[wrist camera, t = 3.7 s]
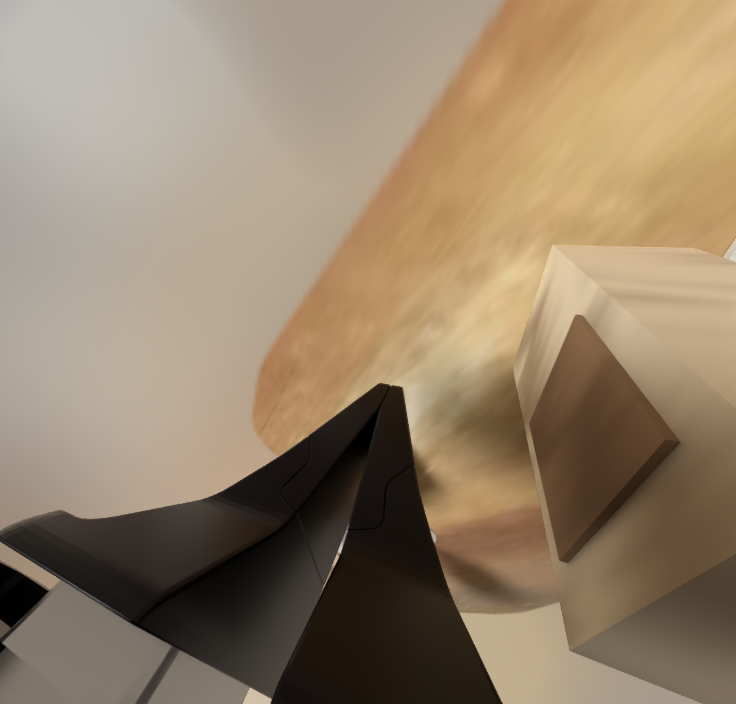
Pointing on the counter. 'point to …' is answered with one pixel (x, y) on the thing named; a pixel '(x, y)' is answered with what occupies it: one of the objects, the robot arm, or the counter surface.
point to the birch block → (638, 457)
